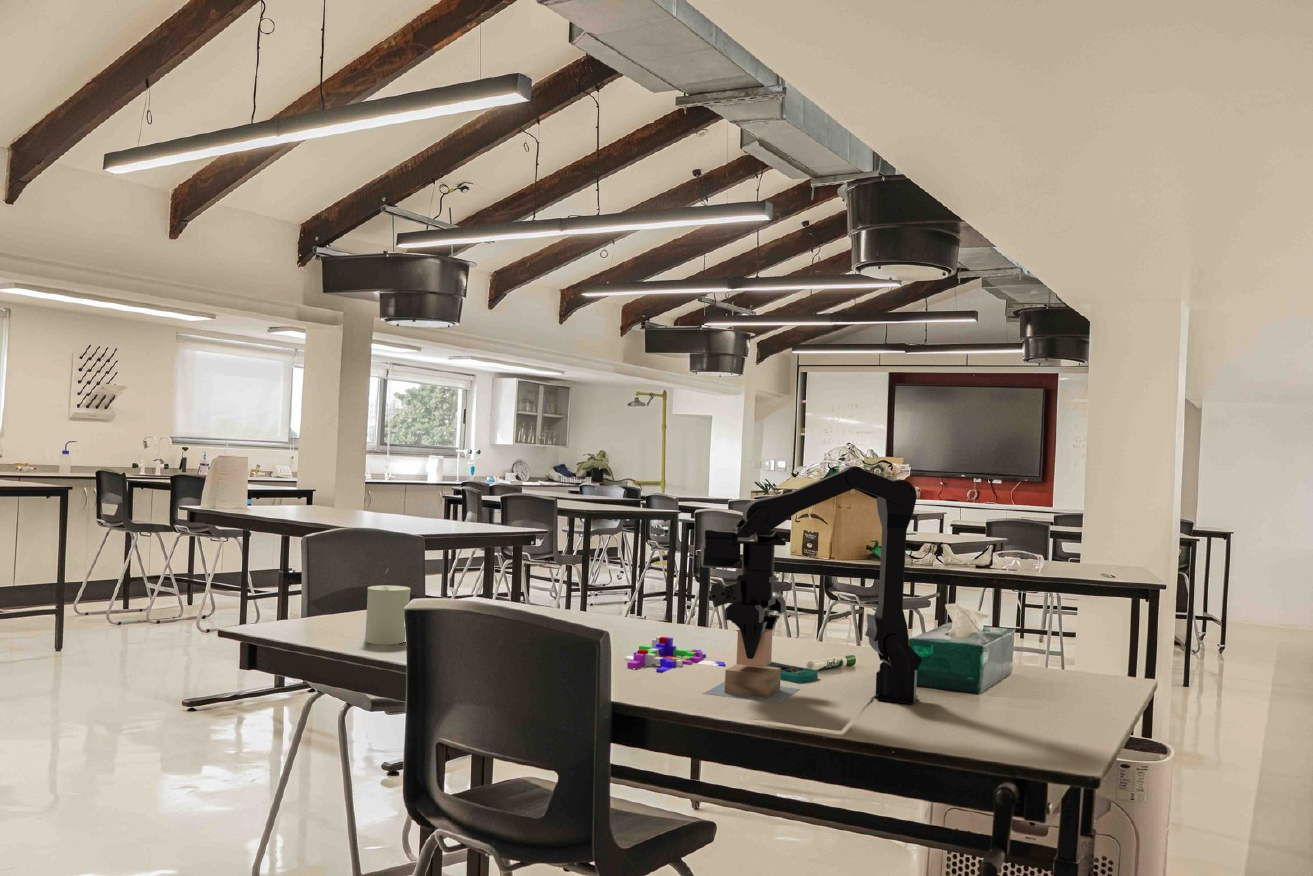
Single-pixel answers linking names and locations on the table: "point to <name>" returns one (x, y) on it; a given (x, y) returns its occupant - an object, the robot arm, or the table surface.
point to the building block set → (666, 656)
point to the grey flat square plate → (775, 698)
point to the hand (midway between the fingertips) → (754, 656)
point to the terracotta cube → (761, 654)
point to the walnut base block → (752, 680)
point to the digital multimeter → (795, 673)
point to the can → (386, 614)
